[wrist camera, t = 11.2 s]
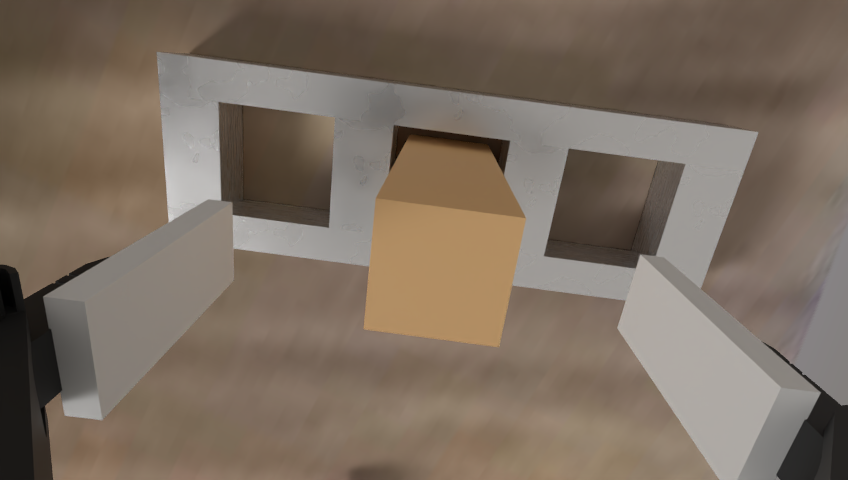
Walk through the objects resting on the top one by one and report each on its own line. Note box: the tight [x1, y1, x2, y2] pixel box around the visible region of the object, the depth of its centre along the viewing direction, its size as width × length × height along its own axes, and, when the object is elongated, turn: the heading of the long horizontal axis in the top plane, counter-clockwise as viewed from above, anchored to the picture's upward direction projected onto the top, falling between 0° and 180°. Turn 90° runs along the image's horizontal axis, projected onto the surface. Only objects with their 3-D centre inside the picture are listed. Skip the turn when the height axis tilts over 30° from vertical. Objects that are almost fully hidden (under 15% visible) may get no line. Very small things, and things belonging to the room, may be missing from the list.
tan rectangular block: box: [364, 134, 526, 347], centre depth 21 cm, size 4×4×14 cm
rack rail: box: [157, 52, 758, 300], centre depth 26 cm, size 30×10×3 cm, turn 83°
